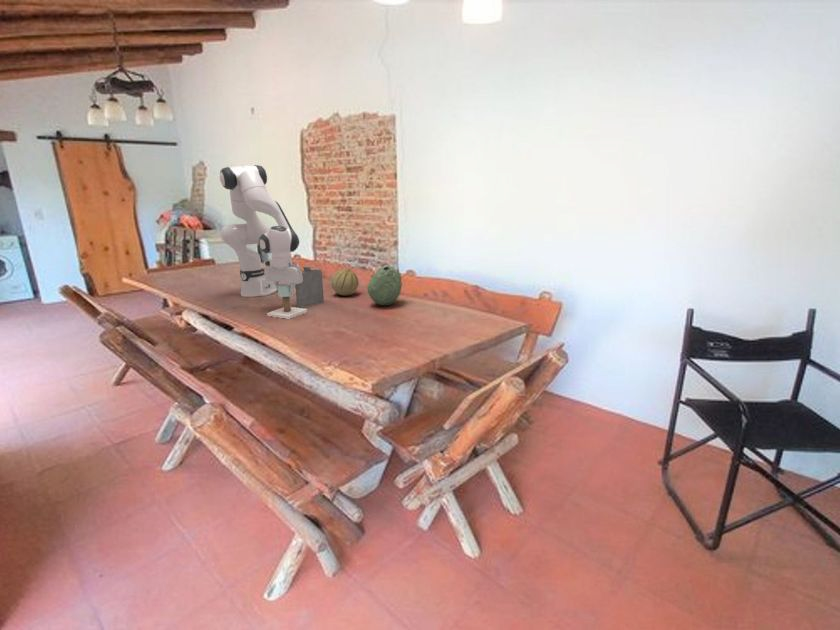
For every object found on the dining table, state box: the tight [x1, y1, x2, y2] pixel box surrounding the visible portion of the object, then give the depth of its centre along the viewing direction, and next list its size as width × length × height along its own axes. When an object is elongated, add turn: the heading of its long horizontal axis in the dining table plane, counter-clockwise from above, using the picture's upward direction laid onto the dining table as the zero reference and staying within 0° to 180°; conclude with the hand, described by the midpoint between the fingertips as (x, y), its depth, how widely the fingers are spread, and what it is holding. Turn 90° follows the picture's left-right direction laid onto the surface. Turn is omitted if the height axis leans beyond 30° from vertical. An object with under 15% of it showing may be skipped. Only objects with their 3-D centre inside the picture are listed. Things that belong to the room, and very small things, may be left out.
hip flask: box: [294, 265, 325, 309], centre depth 222 cm, size 16×4×20 cm, turn 140°
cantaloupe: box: [330, 268, 359, 297], centre depth 240 cm, size 15×15×15 cm
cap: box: [277, 283, 294, 298], centre depth 205 cm, size 6×6×5 cm
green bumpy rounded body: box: [366, 264, 403, 307], centre depth 220 cm, size 16×19×20 cm
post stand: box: [266, 296, 308, 320], centre depth 208 cm, size 13×13×8 cm
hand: (285, 291), depth 206 cm, fingers closed on cap, 6 cm apart
